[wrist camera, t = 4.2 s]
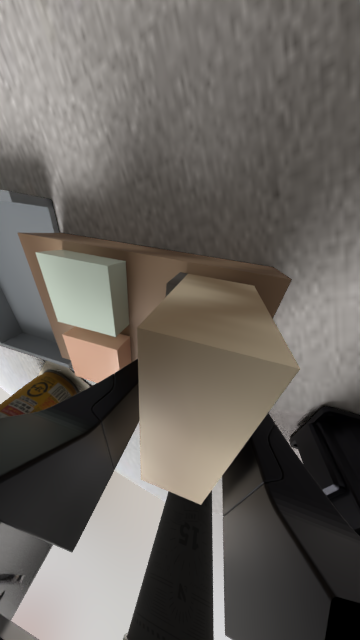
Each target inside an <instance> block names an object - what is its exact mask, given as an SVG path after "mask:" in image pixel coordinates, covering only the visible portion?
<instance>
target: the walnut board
mask: <svg viewBox="0 0 360 640" xmlns="http://www.w3.org/2000/svg"><path fill="white" fill-rule="evenodd" d="M18 236H19V239H20V242H21V245H22V247H23V250H24V253H25V256H26V258H27V261H28V264H29V267H30V270H31V272H32V275H33V278H34V281H35V283H36V286H37V289H38V292H39V295H40V297H41V300H42V303H43V306H44V308H45V311H46V314H47V317H48V319H49V322H50V325H51V328H52V331H53V333H54V336H55V339H56V342H57V344H58V347H59V350H60V353H61V356H62V358H65V359H68V360H70V357H69V354H68V351H67V348H66V345H65V342H64V338H63V335H62V334H64V333H65V332H67V331H69V330H70V329H72V328H74V327H75V326H73V325H69V324H66V323H62V322H58V320H57V317H56V314H55V311H54V308H53V305H52V302H51V299H50V296H49V293H48V290H47V287H46V283H45V280H44V277H43V274H42V271H41V268H40V265H39V262H38V259H37V256H36V253H35V252H43V251H53V250H67V251H73V252H78V253H84V254H89V255H95V256H100V257H106V258H111V259H117V260H122V261H126V276H127V294H128V311H129V325H128V326H127V327H126V328H125V329H124V330H123V331H122V332H121V333H119V334H122V335H126V336H130V347H131V362H133V361H135V360H136V359H138V339H137V327H138V326H139V325H140V324H141V323H142V322H143V321H144V320H145V319H146V318H147V317H148V316H149V314H150V313H151V312H152V311H153V310H154V309H155V308H156V307H157V306H158V305H159V304H160V303H161V302H162V301H163V300H164V299H165V297H166V284H167V283H168V282H169V281H170V280H171V279H172V278H174V277H175V276H176V275H177V274H178V273H180V272H182V273H188V274H193V275H199V276H204V277H210V278H215V279H220V280H226V281H231V282H237V283H242V284H247V285H253V286H255V288H256V290H257V292H258V294H259V295H260V297H261V299H262V301H263V303H264V304H265V306H266V308H267V310H268V312H269V313H270V315H271V317H272V319H273V317H274V315H275V313H276V311H277V309H278V307H279V305H280V303H281V301H282V299H283V296H284V294H285V292H286V290H287V288H288V286H289V284H290V282H291V280H292V279H290V278H289V277H287V276H286V275H284V274H283V273H281V272H280V271H279V270H277V269H276V268H274V267H270V266H263V265H257V264H251V263H245V262H239V261H232V260H226V259H220V258H214V257H208V256H202V255H195V254H189V253H183V252H177V251H171V250H165V249H158V248H152V247H146V246H140V245H134V244H128V243H121V242H115V241H109V240H103V239H97V238H91V237H84V236H78V235H72V234H66V233H18Z"/></svg>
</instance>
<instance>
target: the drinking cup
mask: <svg viewBox="0 0 360 640" xmlns="http://www.w3.org/2000/svg"><path fill="white" fill-rule="evenodd" d="M123 640H213V556H212V490H211V492H210V493H209V494H208V496H207V497H206V499H205V500H204V501H203V503H202V504H201V505H200V504H198V503H196V502H193V501H191V500H188V499H186V498H184V497H181V496H179V495H177V494H174V493H172V492H168V496H167V499H166V503H165V506H164V509H163V513H162V516H161V520H160V523H159V527H158V531H157V534H156V538H155V541H154V544H153V548H152V551H151V555H150V558H149V562H148V566H147V569H146V572H145V576H144V579H143V583H142V586H141V590H140V593H139V597H138V600H137V604H136V607H135V611H134V614H133V618H132V621H131V624H130V628H129V632H128V633H126V634H125V635H124V638H123Z"/></svg>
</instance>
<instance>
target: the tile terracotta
mask: <svg viewBox="0 0 360 640" xmlns="http://www.w3.org/2000/svg"><path fill="white" fill-rule="evenodd" d="M62 335H63V338H64V342H65V345H66V348H67V351H68V354H69V357H70V360H71V363H72V366H73V369H74V372H75V375H76V376H78V377H81V378H84V379H87V380H90V381H93V382H96V383H98V382H100V381H102V380H104V379H105V378H107V377H109V376H110V375H112V374H115V372H117V371H118V370H120V369H122V368H123V367H125V366H127V365H128V364H130V363H131V347H130V336H126V335H122V334H118V335H117V336H116V337H114V336H110V335H106V334H102V333H99V332H95V331H91V330H88V329H84V328H80V327H77V326H75V327H74V328H72V329H70V330H69V331H67V332H65V333H64V334H62Z"/></svg>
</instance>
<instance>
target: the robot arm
mask: <svg viewBox="0 0 360 640" xmlns="http://www.w3.org/2000/svg"><path fill="white" fill-rule="evenodd" d="M138 422H139V380H138V359H136V360H135V361H133V362H131V363H130V364H128V365H127V366H125V367H123V368H122V369H120V370H118V371H117V372H115V374H112V375H110V376H109V377H107V378H105V379H104V380H102V381H100V382H98V383H97V384H95V385H93V386H91V387H89V388H87V389H85V390H83V391H81V392H79V393H77V394H75V395H74V396H72V397H70V398H68V399H66V400H64V401H62V402H60V403H58V404H56V405H54V406H51V407H49V408H47V409H44V410H41V411H38V412H34V413H29V414H22V415H16V416H9V417H3V418H0V640H39V639H37V638H36V637H34V636H33V635H31V634H30V633H28V632H27V631H25V630H24V629H22V628H21V627H19V626H17V625H16V624H15V623H13V622H12V621H11V619H12V618H13V616H14V614H15V612H16V611H17V609H18V607H19V605H20V603H21V602H22V600H23V598H24V596H25V594H26V592H27V591H28V589H29V587H30V585H31V584H32V582H33V580H34V578H35V576H36V574H37V573H38V571H39V569H40V567H41V565H42V564H43V562H44V560H45V558H46V557H47V555H48V553H49V551H50V549H51V547H52V546H53V545H56V546H58V547H60V548H63V549H65V550H67V551H69V552H73V550H74V548H75V546H76V544H77V543H78V541H79V539H80V537H81V535H82V532H83V531H84V529H85V527H86V525H87V523H88V521H89V519H90V517H91V515H92V513H93V511H94V509H95V507H96V505H97V503H98V501H99V499H100V497H101V495H102V493H103V491H104V489H105V487H106V486H107V483H108V481H109V480H110V478H111V476H112V474H113V472H114V470H115V468H116V466H117V464H118V462H119V460H120V458H121V456H122V454H123V452H124V450H125V448H126V446H127V444H128V442H129V440H130V438H131V436H132V434H133V432H134V430H135V428H136V426H137V424H138ZM289 441H290V445H291V446H292V447H293V448H296V449H298V450H299V453H300V455H301V458H302V461H303V463H302V462H301V461H300V459H299V458H298V456H297V455H296V454H295V452H294V451H293V449H292V448H291V447H290V445H289V444H288V442H287V441H286V439H285V438H284V436H283V435H282V433H281V432H280V430H279V428H278V427H277V425H276V424H275V422H274V421H273V419H272V418H271V416H270V415H269V413H268V414H267V415H266V416H265V418H264V419H263V420H262V422H261V423H260V425H259V426H258V427H257V429H256V430H255V431H254V433H253V434H252V436H251V437H250V438H249V440H248V441H247V442H246V444H245V445H244V446H243V448H242V449H241V451H240V452H239V453H238V455H237V456H236V457H235V459H234V460H233V462H232V463H231V464H230V466H229V467H228V468H227V470H226V471H225V473H224V474H223V475H222V488H223V516H224V517H223V541H224V542H223V546H224V547H223V549H224V603H225V605H224V606H225V635H226V636H227V637H229V638H230V639H232V640H360V415H357V414H354V413H350V412H347V411H343V410H339V409H336V408H332V407H322V408H321V409H320V410H319V411H318V412H317V413H316V414H315V415H314V416H313V417H312V418H311V419H310V420H309V421H308V422H307V423H306V424H305V425H304V426H303V427H302V428H301V429H300V430H298V431H297V432H296V433H295V434H294V435H293V436H292V437H291V438H290V440H289ZM303 464H304V465H303Z"/></svg>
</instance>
